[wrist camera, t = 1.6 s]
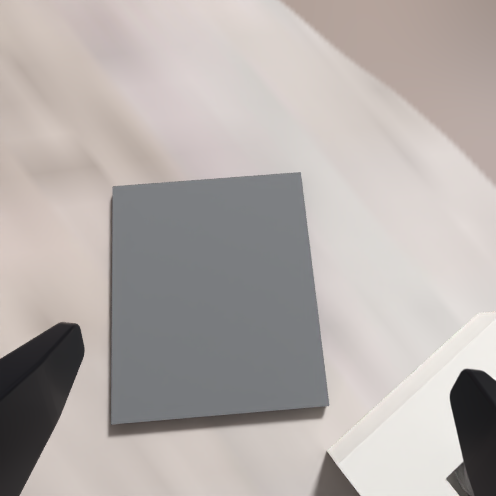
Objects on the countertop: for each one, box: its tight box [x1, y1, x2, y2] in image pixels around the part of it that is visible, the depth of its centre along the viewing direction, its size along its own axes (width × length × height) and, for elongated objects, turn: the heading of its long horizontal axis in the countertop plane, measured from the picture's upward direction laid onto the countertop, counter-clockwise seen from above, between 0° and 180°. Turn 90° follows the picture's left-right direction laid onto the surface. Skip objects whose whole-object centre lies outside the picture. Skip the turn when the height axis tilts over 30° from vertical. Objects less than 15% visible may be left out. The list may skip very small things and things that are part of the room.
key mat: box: [111, 172, 329, 424], centre depth 23 cm, size 14×12×1 cm
